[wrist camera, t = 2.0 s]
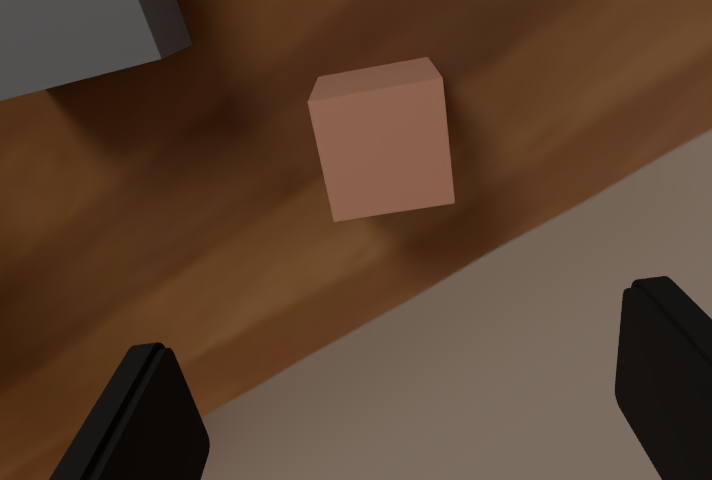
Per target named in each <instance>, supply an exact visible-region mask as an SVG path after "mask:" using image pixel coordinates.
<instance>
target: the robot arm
mask: <svg viewBox="0 0 712 480" xmlns="http://www.w3.org/2000/svg"><path fill="white" fill-rule="evenodd" d="M615 396H616V399H617V403H618V406H619V408H620V409H621V411H622V413H623V414H624V416H625V418H626V420H627V421H628V423H629V425H630V426H631V428H632V429H633V431H634V433H635V435H636V436H637V438H638V439H639V441H640V443H641V445H642V446H643V448H644V450H645V451H646V453H647V455H648V457H649V458H650V460H651V462H652V463H653V465H654V467H655V468H656V470H657V472H658V473H659V475H660V477H661V479H662V480H712V319H711V318H710V317H709V316H708V315H707V314H706V313H705V312H704V311H703V310H702V309H701V308H700V307H699V306H698V305H697V304H696V303H695V302H693V301H692V299H691V298H690V297H689V296H688V295H686V294H685V292H683V291H682V289H680V288H679V287H678V286H677V285H676V284H675V283H674V282H673V281H672V280H671V279H670V278H669V277H666V276H661V277H653V278H647V279H638V280H635V281H634V282H633V283H632V286H631V288H627V289H625V290H624V293H623V301H622V312H621V322H620V334H619V346H618V357H617V369H616V381H615ZM209 443H210V442H209V437H208V434H207V431H206V429H205V427H204V424H203V422H202V419H201V417H200V414H199V412H198V410H197V407H196V405H195V402H194V400H193V398H192V395H191V393H190V390H189V388H188V386H187V383H186V381H185V378H184V376H183V374H182V371H181V369H180V366H179V364H178V362H177V359H176V357H175V354H174V352H173V351H172V349H170V348H165V346H164V345H163V344H162V343H159V342H157V343H149V344H142V345H134V346H132V347H131V348H130V349H129V350H128V352H127V353H126V355H125V357H124V358H123V360H122V361H121V363H120V365H119V366H118V368H117V370H116V371H115V373H114V375H113V376H112V378H111V379H110V381H109V383H108V384H107V386H106V388H105V389H104V391H103V393H102V394H101V396H100V397H99V399H98V401H97V402H96V404H95V406H94V407H93V409H92V410H91V412H90V414H89V415H88V417H87V419H86V420H85V422H84V424H83V425H82V427H81V428H80V430H79V432H78V433H77V435H76V437H75V438H74V440H73V441H72V443H71V445H70V446H69V448H68V450H67V451H66V453H65V455H64V456H63V458H62V459H61V461H60V463H59V464H58V466H57V468H56V469H55V471H54V473H53V474H52V476H51V477H50V479H49V480H201V476H202V473H203V470H204V467H205V464H206V461H207V457H208V454H209V448H210V444H209Z"/></svg>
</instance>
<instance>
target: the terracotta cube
mask: <svg viewBox="0 0 712 480" xmlns="http://www.w3.org/2000/svg"><path fill="white" fill-rule="evenodd" d="M308 106H309V110H310V115H311V119H312V124H313V128H314V133H315V138H316V142H317V147H318V151H319V156H320V160H321V165H322V170H323V174H324V179H325V183H326V188H327V192H328V197H329V201H330V206H331V211H332V215H333V220H334V222H336V221H343V220H349V219H356V218H362V217H368V216H375V215H381V214H388V213H394V212H401V211H407V210H414V209H420V208H427V207H433V206H440V205H446V204H453V203H455V199H454V189H453V179H452V169H451V158H450V148H449V138H448V127H447V117H446V107H445V97H444V86H443V78H442V76H441V75H440V73H439V72H438V71H437V69H436V68H435V66H434V65H433V63H432V62H431V61H430V59H429V58H428V57H425V58H420V59H414V60H409V61H403V62H398V63H392V64H387V65H381V66H376V67H370V68H365V69H359V70H354V71H348V72H343V73H337V74H332V75H326V76H321V77H318V79H317V81H316V84H315V86H314V88H313V91H312V93H311V95H310V98H309V100H308Z"/></svg>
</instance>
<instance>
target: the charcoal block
mask: <svg viewBox="0 0 712 480" xmlns="http://www.w3.org/2000/svg"><path fill="white" fill-rule="evenodd" d="M192 45H193V44H192V41H191V38H190V36H189V33H188V30H187V27H186V25H185V22H184V19H183V16H182V13H181V11H180V8H179V5H178V2H177V0H0V101H1V100H5V99H9V98H13V97H17V96H21V95H24V94H28V93H32V92H36V91H40V90H44V89H48V88H52V87H55V86H59V85H63V84H67V83H71V82H75V81H79V80H82V79H86V78H90V77H94V76H98V75H102V74H106V73H109V72H113V71H117V70H121V69H125V68H129V67H133V66H136V65H140V64H144V63H148V62H152V61H156V60H160V59H163V58H165V57H167V56H169V55H172V54H174V53H176V52H178V51H180V50H183V49H185V48H187V47H189V46H192Z"/></svg>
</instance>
